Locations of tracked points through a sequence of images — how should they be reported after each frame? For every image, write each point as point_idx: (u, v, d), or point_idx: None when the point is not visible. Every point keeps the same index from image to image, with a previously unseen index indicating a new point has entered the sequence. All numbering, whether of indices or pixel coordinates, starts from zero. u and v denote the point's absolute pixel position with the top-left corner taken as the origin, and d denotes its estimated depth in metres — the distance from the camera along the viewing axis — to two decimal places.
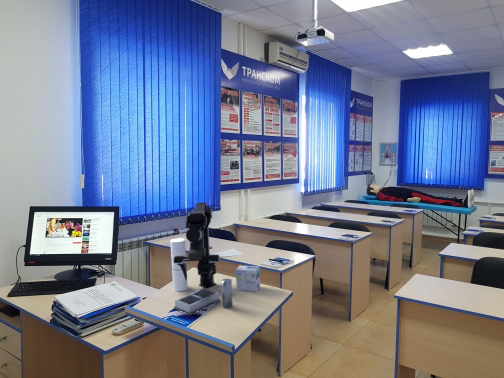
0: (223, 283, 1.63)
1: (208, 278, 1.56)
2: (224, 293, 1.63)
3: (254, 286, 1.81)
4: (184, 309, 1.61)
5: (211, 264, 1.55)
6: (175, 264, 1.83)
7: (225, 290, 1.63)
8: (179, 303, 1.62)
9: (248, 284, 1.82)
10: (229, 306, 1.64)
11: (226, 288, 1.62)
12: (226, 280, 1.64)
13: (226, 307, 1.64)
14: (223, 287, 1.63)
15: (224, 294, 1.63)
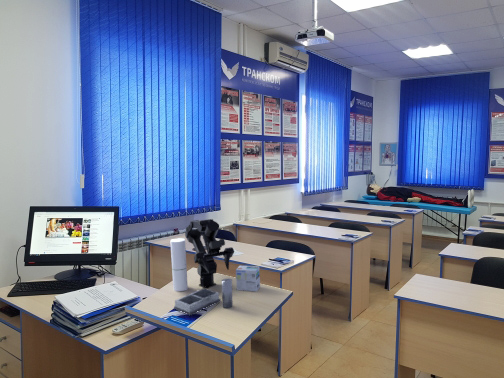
0: (223, 283, 1.63)
1: (228, 268, 1.74)
2: (224, 293, 1.63)
3: (254, 286, 1.81)
4: (184, 309, 1.61)
5: (229, 254, 1.77)
6: (175, 264, 1.83)
7: (225, 290, 1.63)
8: (179, 303, 1.62)
9: (248, 284, 1.82)
10: (229, 306, 1.64)
11: (226, 288, 1.62)
12: (226, 280, 1.64)
13: (226, 307, 1.64)
14: (223, 287, 1.63)
15: (224, 294, 1.63)
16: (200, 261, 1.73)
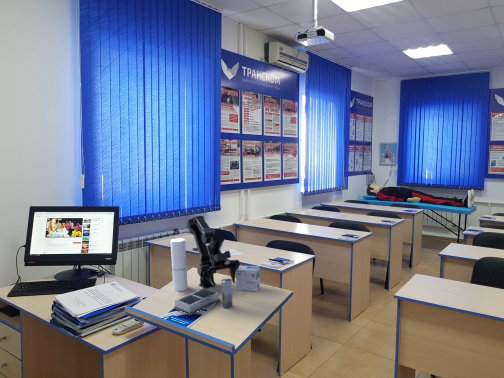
0: (223, 283, 1.63)
1: (234, 281, 1.69)
2: (224, 293, 1.63)
3: (254, 286, 1.81)
4: (184, 309, 1.61)
5: (234, 267, 1.71)
6: (175, 264, 1.83)
7: (225, 290, 1.63)
8: (179, 303, 1.62)
9: (248, 284, 1.82)
10: (229, 306, 1.64)
11: (226, 288, 1.62)
12: (226, 280, 1.64)
13: (226, 307, 1.64)
14: (223, 287, 1.63)
15: (224, 294, 1.63)
16: (205, 274, 1.68)
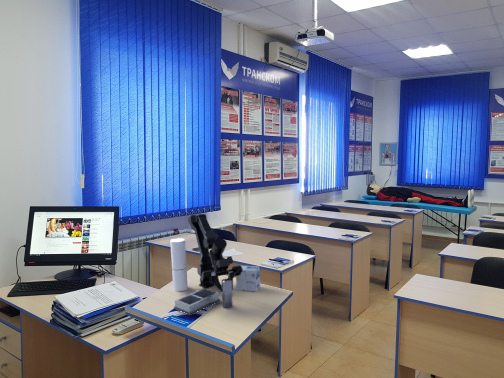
0: (223, 283, 1.63)
1: (232, 288, 1.66)
2: (224, 293, 1.63)
3: (254, 286, 1.81)
4: (184, 309, 1.61)
5: (232, 274, 1.68)
6: (175, 264, 1.83)
7: (225, 290, 1.63)
8: (179, 303, 1.62)
9: (248, 284, 1.82)
10: (229, 306, 1.64)
11: (226, 288, 1.62)
12: (226, 280, 1.64)
13: (226, 307, 1.64)
14: (223, 287, 1.63)
15: (224, 294, 1.63)
16: (212, 279, 1.67)
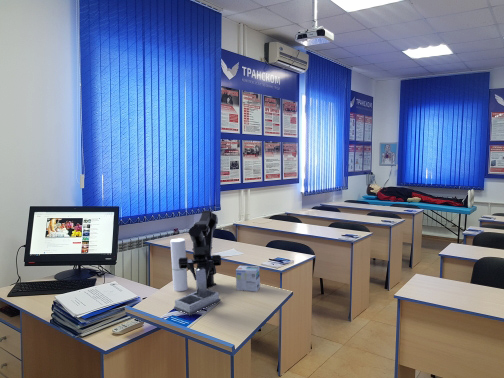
0: (196, 271, 1.61)
1: (206, 277, 1.63)
2: (197, 281, 1.61)
3: (254, 286, 1.81)
4: (184, 309, 1.61)
5: (209, 263, 1.65)
6: (175, 264, 1.83)
7: (198, 278, 1.61)
8: (179, 303, 1.62)
9: (248, 284, 1.82)
10: (201, 295, 1.61)
11: (198, 276, 1.60)
12: (200, 268, 1.62)
13: (199, 296, 1.62)
14: (196, 275, 1.61)
15: (197, 282, 1.61)
16: (189, 266, 1.66)
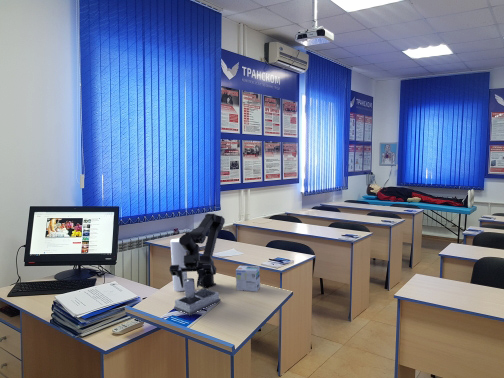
0: (184, 282, 1.63)
1: (197, 285, 1.64)
2: (185, 292, 1.63)
3: (254, 286, 1.81)
4: (184, 309, 1.61)
5: (201, 271, 1.66)
6: (175, 264, 1.83)
7: (186, 289, 1.62)
8: (179, 303, 1.62)
9: (248, 284, 1.82)
10: None
11: (186, 287, 1.62)
12: (188, 279, 1.64)
13: None
14: (184, 286, 1.63)
15: (185, 293, 1.63)
16: (177, 274, 1.68)
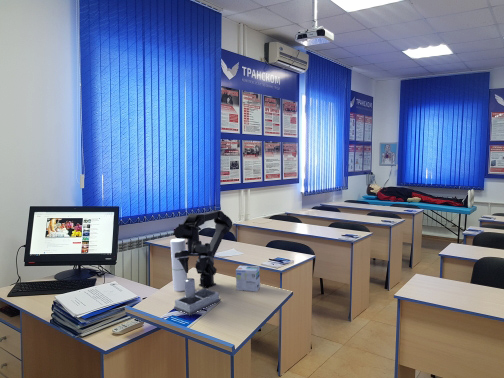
0: (184, 281, 1.63)
1: (203, 271, 1.79)
2: (185, 292, 1.63)
3: (254, 286, 1.81)
4: (184, 309, 1.61)
5: (207, 258, 1.80)
6: (175, 264, 1.83)
7: (186, 289, 1.62)
8: (179, 303, 1.62)
9: (248, 284, 1.82)
10: None
11: (186, 287, 1.62)
12: (189, 279, 1.64)
13: None
14: (185, 286, 1.63)
15: (185, 293, 1.63)
16: (181, 259, 1.72)
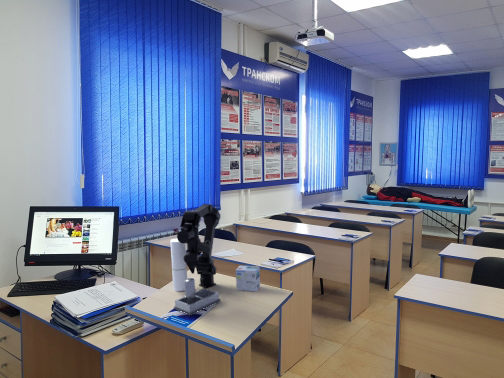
0: (184, 282, 1.63)
1: (197, 265, 1.81)
2: (185, 292, 1.63)
3: (254, 286, 1.81)
4: (184, 309, 1.61)
5: (200, 253, 1.82)
6: (175, 264, 1.83)
7: (186, 289, 1.62)
8: (179, 303, 1.62)
9: (248, 284, 1.82)
10: None
11: (186, 287, 1.62)
12: (189, 279, 1.64)
13: None
14: (185, 286, 1.63)
15: (185, 293, 1.63)
16: None
